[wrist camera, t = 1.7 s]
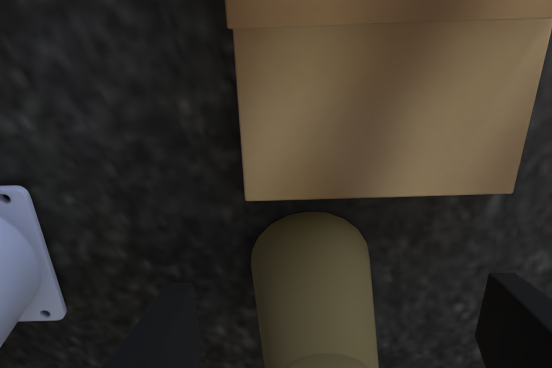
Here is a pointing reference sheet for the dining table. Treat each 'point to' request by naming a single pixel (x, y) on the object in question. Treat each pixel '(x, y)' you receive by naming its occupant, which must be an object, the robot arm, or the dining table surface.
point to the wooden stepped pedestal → (385, 95)
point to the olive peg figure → (314, 294)
